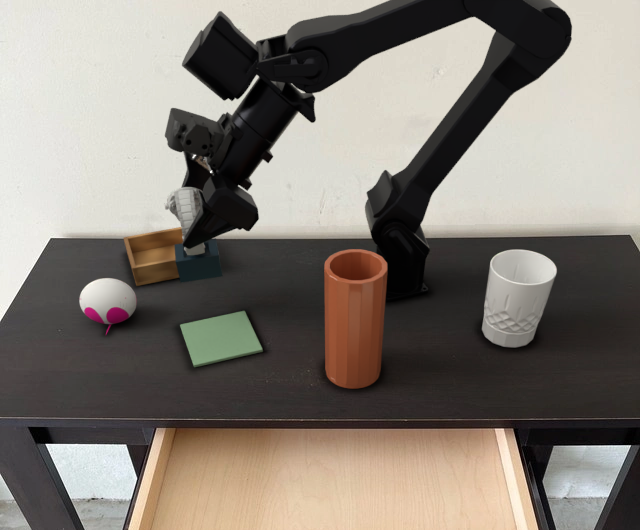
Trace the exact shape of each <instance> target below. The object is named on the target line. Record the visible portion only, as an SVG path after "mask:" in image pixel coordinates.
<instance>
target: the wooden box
mask: <svg viewBox="0 0 640 530" xmlns="http://www.w3.org/2000/svg"><path fill="white" fill-rule="evenodd" d="M182 236H183V233H182V229H181V226H178V227H172V228H167V229H162V230H157V231H151V232H145V233H140V234H134V235H129V236H128V235H127V236H124V237H123V242H124V246H125V249H126V250H125V251H126V253H127V258H128V261H129V265H130V268H131V272H132V275H133V279H134V282H135V285H136V287H140V286H145V285H148V284H153V283H154V284H155V283H158V282H164V281H169V280H173V279H180V278H179V274H178V270H177V266H176V261H175V246H174V244H181V243H182V242H183V238H182Z"/></svg>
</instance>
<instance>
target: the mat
mask: <svg viewBox="0 0 640 530" xmlns="http://www.w3.org/2000/svg"><path fill="white" fill-rule="evenodd" d="M179 327H180V329H181V333H182V337H183V339H184V341H185V344H186V348H187V350H188V354H189V356H190V359H191V362H192V365H193V367H194V368H198V367H202V366H206V365H211V364H216V363H220V362H224V361H229V360H232V359H237V358H241V357H245V356H246V357H247V356H250V355H254V354H258V353H263V352H264V350H263V346H262V345H261V343H260V340H259V338H258V336H257V334H256V332H255V330H254V328H253V325H252V324H251V321H250V320H249V317H248V315H247V313H246V311H245V310H242V311H241V310H240V311H236V312H232V313H228V314H227V313H226V314H223V315H217V316H213V317H209V318H204V319H199V320H193V321H190V322H186V323H180V324H179Z"/></svg>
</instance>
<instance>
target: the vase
mask: <svg viewBox="0 0 640 530" xmlns="http://www.w3.org/2000/svg"><path fill="white" fill-rule="evenodd" d="M323 270H324V271H323V272H324V273H323V274H324V276H323V277H324V348H325V349H324V351H325V352H324V356H325V357H324V363H325V364H324V367H325V375H326V377H327V379H328V380H329V381H330V382H331V383H332V384H334V385H335V386H338V387H341V388H344V389H351V390H355V389H363V388H366V387H369V386H371V385H373V384H374V383H375V382H376V381H377V380H378V379H379V377H380V375H381V371H382V370H381V368H382V355H383V341H384V340H383V339H384V326H385V325H384V324H385V310H386V300H385V298H386V284H387V262H386V261H385V260H384V258H383V257H382V256H380V255H378V254H376V252H374V251H372V250H371V251H370V250H366V249H362V248H361V249H360V248H359V249H357V248H356V249H355V248H354V249H353V248H349V249H344V250H340V251H337V252H335V253H333V254H331V255H329V256H328V258H327V259H326V260H325V261H324V269H323Z"/></svg>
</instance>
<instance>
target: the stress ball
mask: <svg viewBox="0 0 640 530" xmlns="http://www.w3.org/2000/svg"><path fill="white" fill-rule="evenodd" d="M77 299H78V300H79V306H80V309H81V311H82V312H83V314H84V315H85V316H86V317H87V318H89V319H90V320H92V321H94V322H95V323H99V324H102V325H103V324H104V325H108V327H107V329H106V333H105V335H107V334H108V332H109V330H110V328H111V326H112V325H114V324H119V323H122V322H124V321H126V320H128V319H129V318H130V317H131V316H132V315H133V314H134V312H135V310H136V309H137V305H138V299H137V295H136V293H135V291H134V289H133V288H132V286H130V285H129V284H128V283H126V282H125V281H123V280H120V279H117V278H111V277H104V278H97V279H95V280H93V281H91V282H89V283H88V284H86V285H85V286H84V288H82V291H81V292H80V295H79V297H78V298H77Z"/></svg>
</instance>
